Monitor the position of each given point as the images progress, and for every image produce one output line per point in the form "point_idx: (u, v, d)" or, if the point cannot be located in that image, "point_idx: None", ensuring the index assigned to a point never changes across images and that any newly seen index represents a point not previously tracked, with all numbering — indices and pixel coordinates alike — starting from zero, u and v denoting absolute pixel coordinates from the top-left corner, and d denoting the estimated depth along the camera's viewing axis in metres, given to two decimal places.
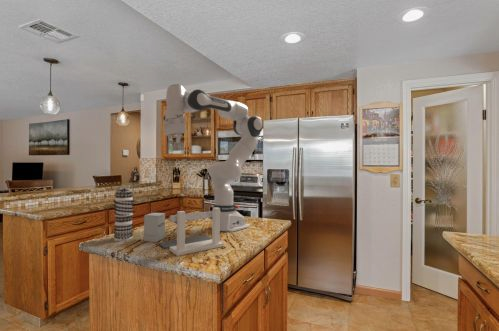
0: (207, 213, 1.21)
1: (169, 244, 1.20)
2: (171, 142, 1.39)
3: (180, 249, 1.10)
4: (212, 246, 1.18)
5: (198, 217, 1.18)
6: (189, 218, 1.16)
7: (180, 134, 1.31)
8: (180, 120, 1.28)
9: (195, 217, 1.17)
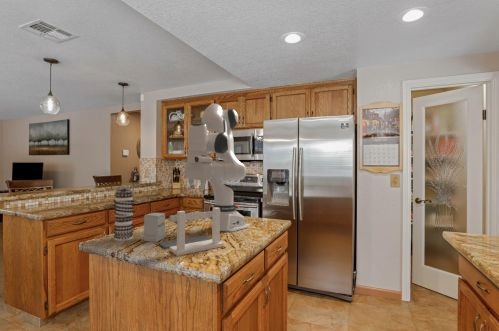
0: (207, 213, 1.21)
1: (169, 244, 1.20)
2: None
3: (180, 249, 1.10)
4: (212, 246, 1.18)
5: (198, 217, 1.18)
6: (189, 218, 1.16)
7: None
8: None
9: (195, 217, 1.17)
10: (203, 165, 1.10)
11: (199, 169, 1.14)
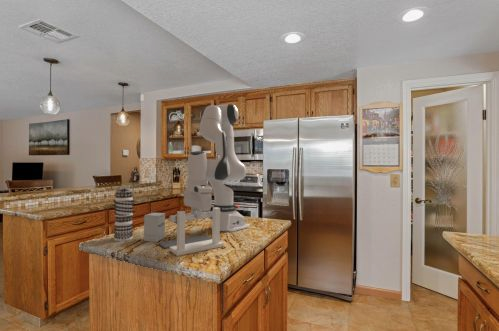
0: (207, 213, 1.21)
1: (169, 244, 1.20)
2: None
3: (180, 249, 1.10)
4: (212, 246, 1.18)
5: None
6: (189, 218, 1.16)
7: None
8: None
9: (195, 217, 1.17)
10: (203, 196, 1.10)
11: (199, 199, 1.14)
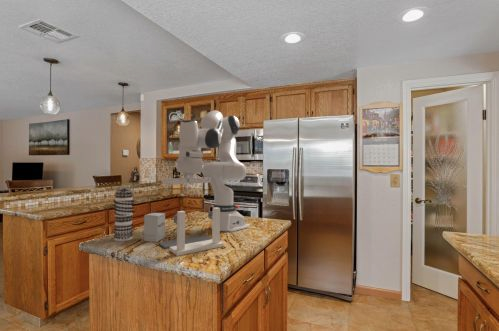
0: (198, 179, 1.29)
1: (169, 244, 1.20)
2: None
3: (180, 249, 1.10)
4: (212, 246, 1.18)
5: None
6: (181, 182, 1.23)
7: None
8: None
9: (187, 181, 1.25)
10: (194, 159, 1.18)
11: (190, 163, 1.21)
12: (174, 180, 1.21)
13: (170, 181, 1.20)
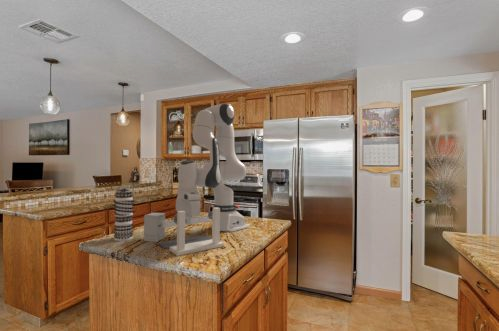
0: (197, 219, 1.29)
1: (169, 244, 1.20)
2: None
3: (180, 249, 1.10)
4: (212, 246, 1.18)
5: None
6: None
7: None
8: None
9: (185, 223, 1.25)
10: (192, 203, 1.18)
11: (188, 205, 1.21)
12: (172, 222, 1.21)
13: (168, 224, 1.20)
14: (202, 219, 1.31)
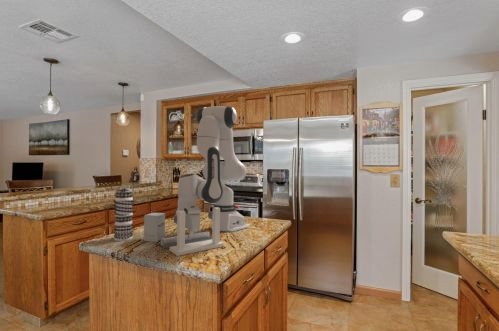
0: (197, 235, 1.29)
1: (169, 244, 1.20)
2: None
3: (180, 249, 1.10)
4: (212, 246, 1.18)
5: (188, 239, 1.26)
6: None
7: None
8: None
9: (185, 239, 1.25)
10: (192, 217, 1.18)
11: (188, 219, 1.22)
12: (172, 240, 1.21)
13: (168, 241, 1.20)
14: (202, 235, 1.31)
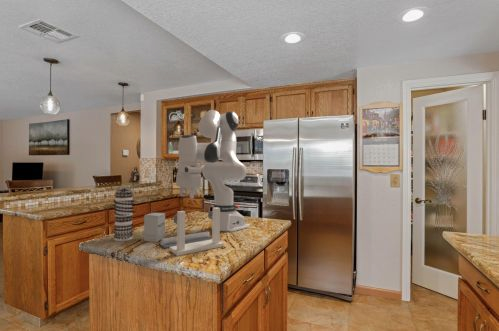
0: (197, 235, 1.29)
1: (169, 244, 1.20)
2: None
3: (180, 249, 1.10)
4: (212, 246, 1.18)
5: (188, 239, 1.26)
6: None
7: None
8: None
9: (185, 239, 1.25)
10: (192, 175, 1.18)
11: (189, 179, 1.21)
12: (172, 240, 1.21)
13: (168, 241, 1.20)
14: (202, 235, 1.31)
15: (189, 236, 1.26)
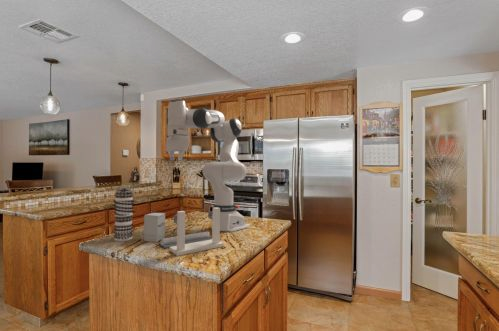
0: (197, 235, 1.29)
1: (169, 244, 1.20)
2: None
3: (180, 249, 1.10)
4: (212, 246, 1.18)
5: (188, 239, 1.26)
6: None
7: None
8: None
9: (185, 239, 1.25)
10: (180, 136, 1.22)
11: (177, 141, 1.25)
12: (172, 240, 1.21)
13: (168, 241, 1.20)
14: (202, 235, 1.31)
15: (189, 236, 1.26)
